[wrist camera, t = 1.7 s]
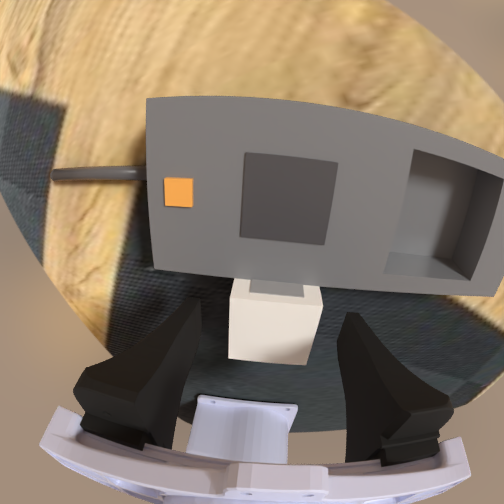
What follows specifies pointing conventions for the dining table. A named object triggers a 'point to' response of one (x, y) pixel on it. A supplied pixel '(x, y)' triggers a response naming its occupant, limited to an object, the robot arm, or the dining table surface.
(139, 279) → the dining table surface
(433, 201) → the power strip
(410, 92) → the dining table surface
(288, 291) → the plug
